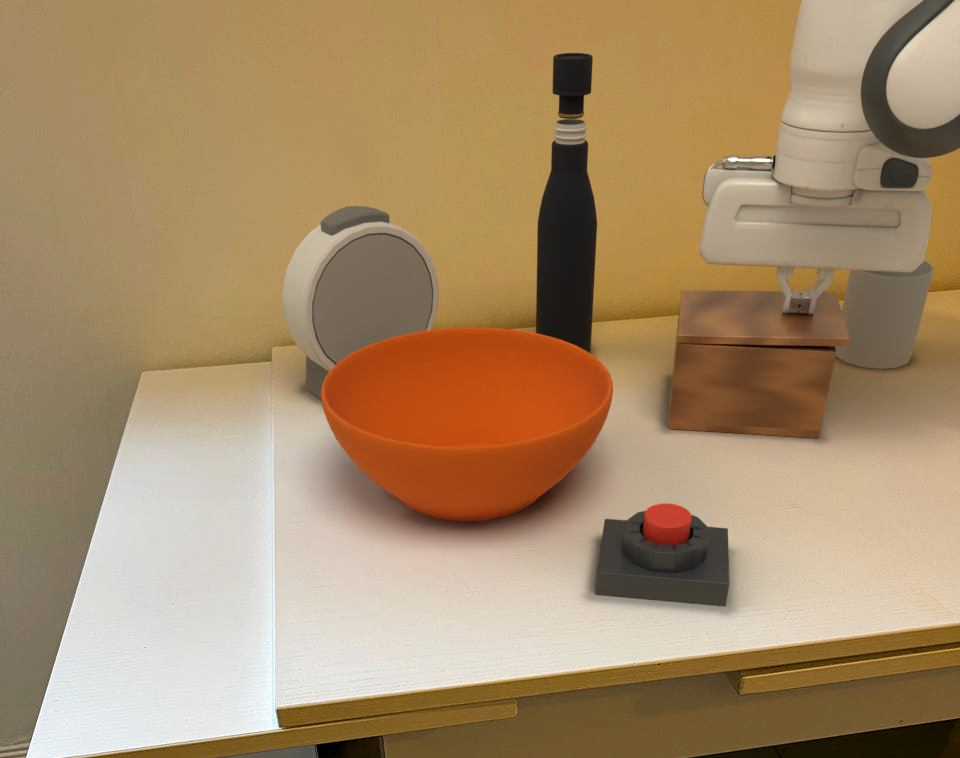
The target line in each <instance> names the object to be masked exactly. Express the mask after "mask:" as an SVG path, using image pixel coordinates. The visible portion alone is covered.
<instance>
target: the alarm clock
mask: <svg viewBox="0 0 960 758" xmlns="http://www.w3.org/2000/svg"><path fill="white" fill-rule="evenodd" d="M281 292H282V295H281V297H282V298H281V299H282V315H283V317H284V321H285V325H286V329H287V331H288V333H289V335H290V337H291V339H292V340H293V342H294V343H295V345H296V347H297V348H298V349H299V350H300V351H301V352H303V354H304V355H305V356H306V357H305V359H306V360H305V390H306V391H308V392H310V393H311V394H312V395H314V396H315V397H316V398H318V399H319V400H321V389H322V385H323V382H324V379H325V377H326V375H327V374H328V373H329V372H330V370H331V369H332V368H333V367H334V366H335V365H336V364H337V363H339V362H340V361H341V360H342V359H344V358H345V357H347V356H348V355H350V354H352V353H353V352H355V351H357V350H359V349H361V348H364V347H366V346H368V345H371V344H373V343H376V342H379V341H382V340H386V339H389V338H392V337H396V336H401V335H405V334H410V333H415V332H420V331H427V330H433V327H434V324H435V321H436V317H437V312H438V310H439V309H438V308H439V293H440V288H439V282H438V275H437V269H436V267H435V265H434V262H433V259H432V257H431V255H430V253H429V251H428V250H427V249H426V247H425V246H424V245H423V244H422V242H421V241H420V240H419V239H418V237H417V236H415V235H413V234H412V233H410V232H409V231H408V230H406V229H405V228H404V227H401V226H399V225H396V224H394V223H392V222H390V214H389V213H388V212H385V211H384V210H381V209H378V208H375V207H370V206H363V205H362V206H361V205H351V206H349V205H347V206H344V207H341V208H338V209H337V210H334V211H332V212H331V213H329V214H328V215H326V216H325V217H324V218H323V219H321V221H320V224H319V225H317V227H315V228H314V229H312V230H311V231H310V232H309V233H308V234H307V235H306V236H305V238H304V239H302V241H301V242H300V244H299V245H298V246H297V247H296V249H295V250H294V253H293V255H292V257H291V259H290V260H289V264H287V268H286V270H285V275H284V280H283V285H282V290H281Z"/></svg>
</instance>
